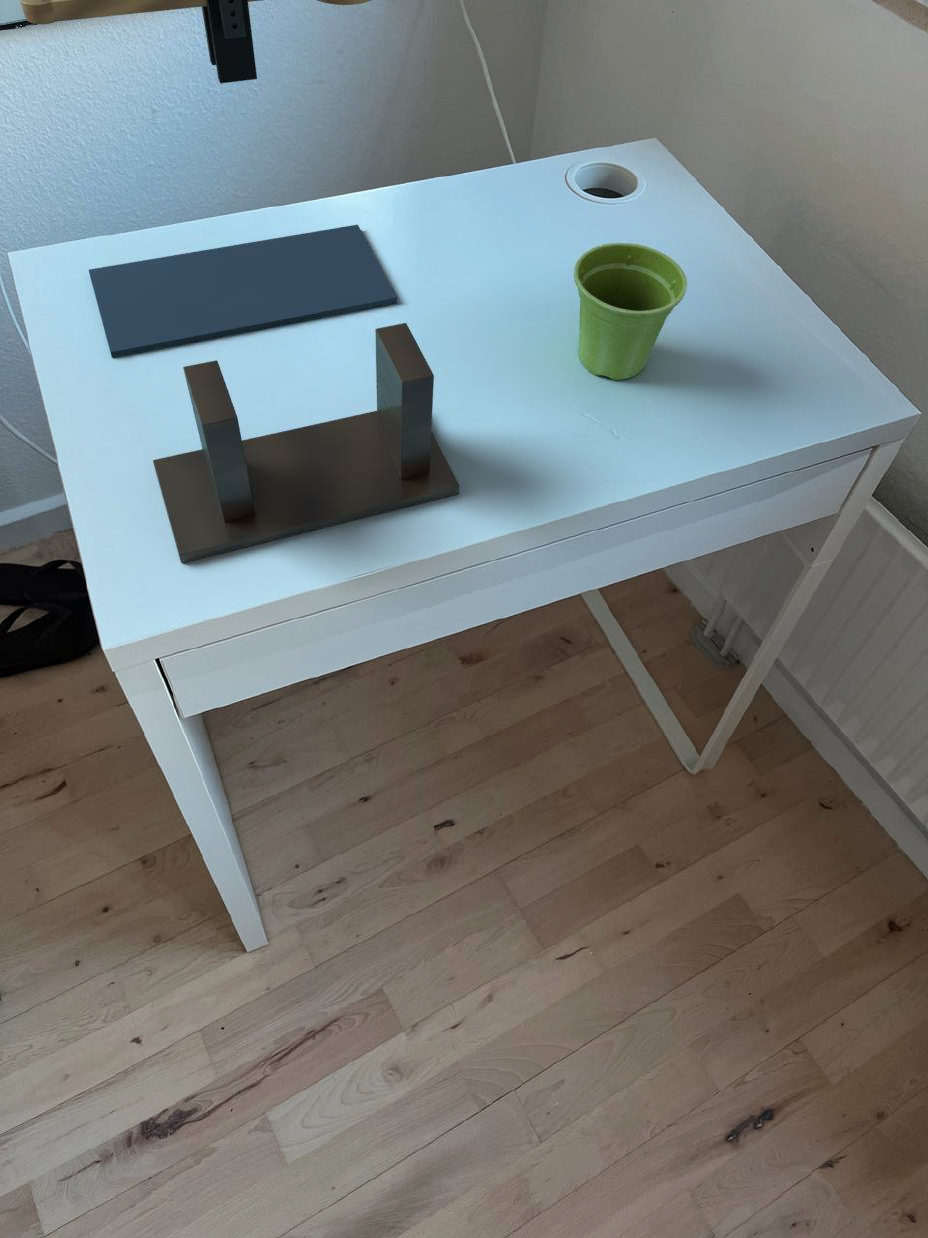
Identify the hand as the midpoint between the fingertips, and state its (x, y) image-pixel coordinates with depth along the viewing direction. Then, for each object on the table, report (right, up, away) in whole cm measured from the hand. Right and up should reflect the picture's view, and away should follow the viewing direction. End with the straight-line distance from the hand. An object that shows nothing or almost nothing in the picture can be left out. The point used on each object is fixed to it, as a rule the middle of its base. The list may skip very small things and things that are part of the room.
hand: (233, 68), depth 69 cm
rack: (+5, -30, +5) cm, 30 cm away
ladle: (0, +2, -4) cm, 5 cm away
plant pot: (+30, -17, +16) cm, 38 cm away
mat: (-3, -10, +18) cm, 21 cm away
